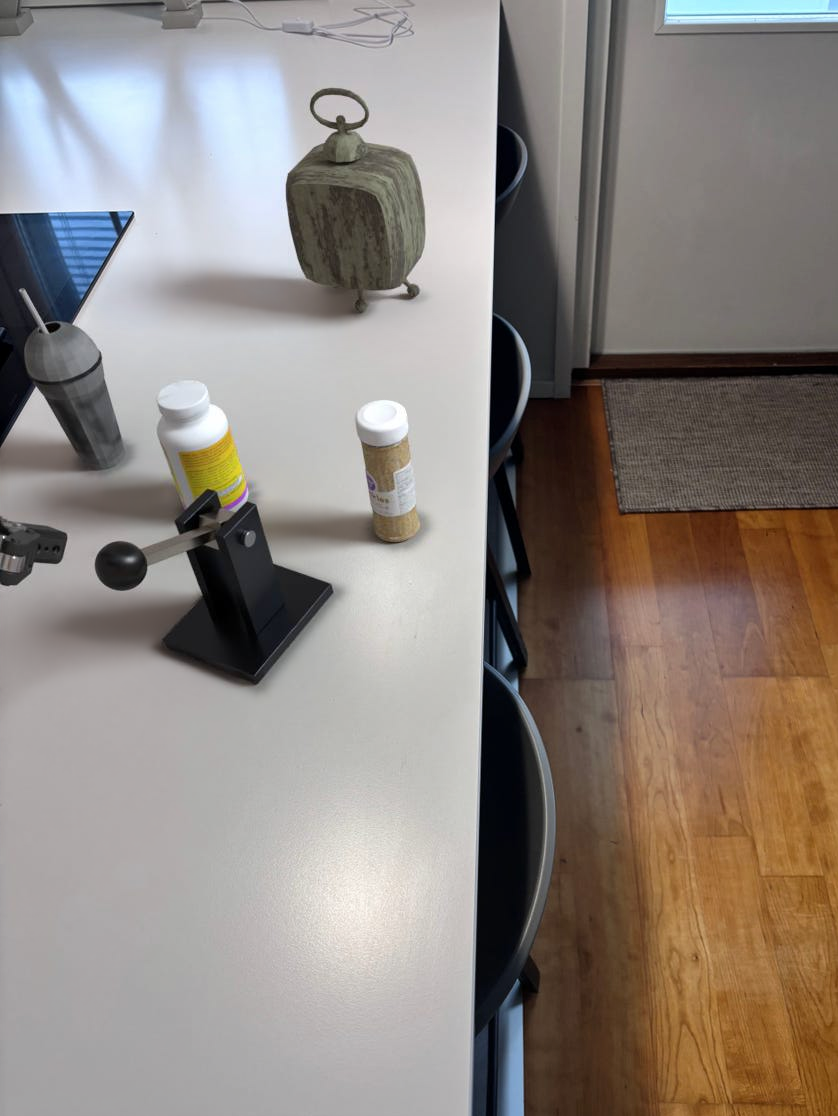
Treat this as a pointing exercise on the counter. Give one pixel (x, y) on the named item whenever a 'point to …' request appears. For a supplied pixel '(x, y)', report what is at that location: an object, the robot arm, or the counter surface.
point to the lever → (153, 552)
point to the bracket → (242, 597)
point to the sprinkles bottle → (388, 469)
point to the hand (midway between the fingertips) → (56, 545)
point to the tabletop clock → (356, 210)
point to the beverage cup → (74, 389)
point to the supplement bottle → (199, 445)
